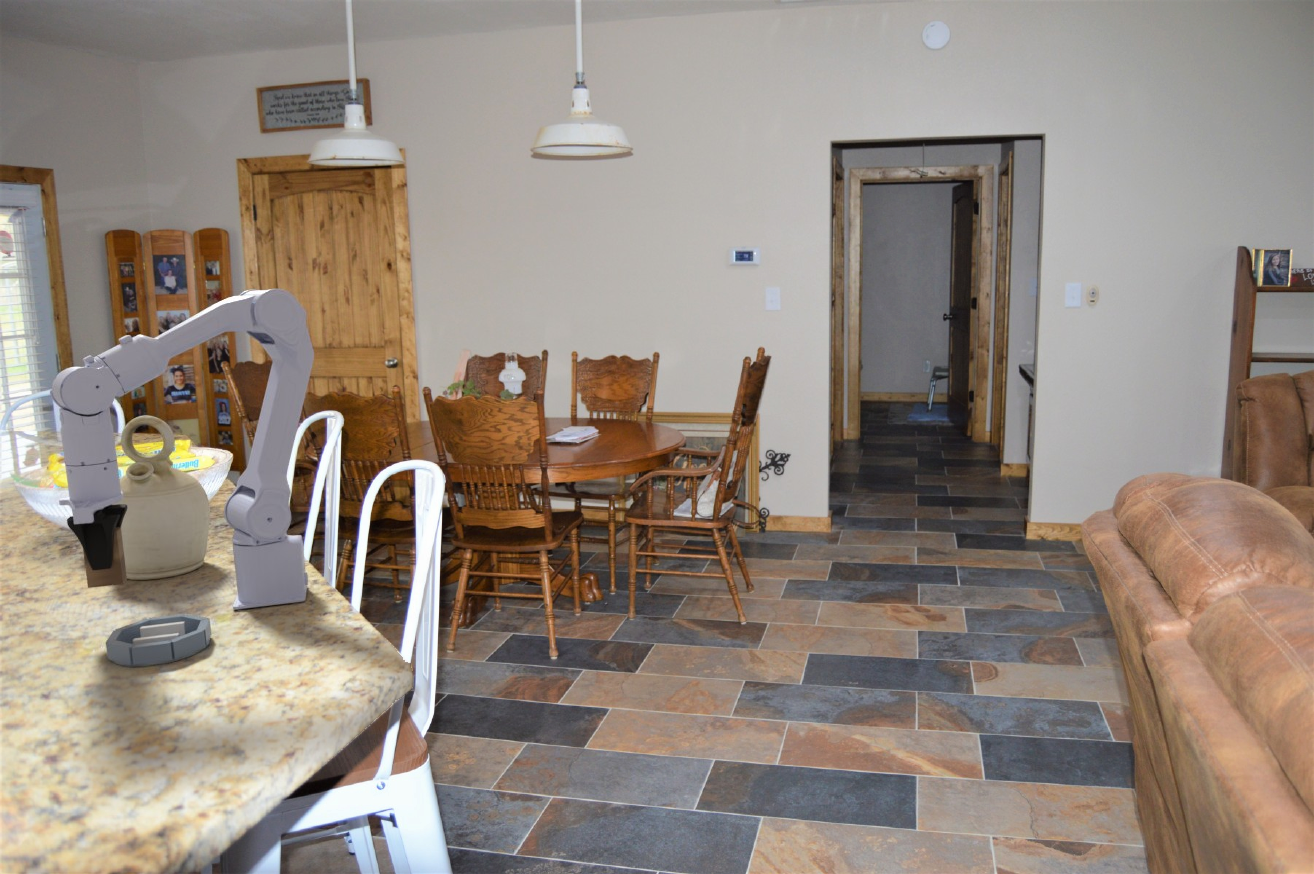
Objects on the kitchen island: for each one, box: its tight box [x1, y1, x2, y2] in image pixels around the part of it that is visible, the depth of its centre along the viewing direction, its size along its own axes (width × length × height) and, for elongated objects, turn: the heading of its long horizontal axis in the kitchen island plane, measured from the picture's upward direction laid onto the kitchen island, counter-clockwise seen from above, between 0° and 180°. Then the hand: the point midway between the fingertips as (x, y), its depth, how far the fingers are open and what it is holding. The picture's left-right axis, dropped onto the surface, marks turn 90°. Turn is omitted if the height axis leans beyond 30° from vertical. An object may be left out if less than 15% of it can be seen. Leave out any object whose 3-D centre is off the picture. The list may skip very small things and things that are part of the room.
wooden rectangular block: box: [82, 527, 128, 589], centre depth 125 cm, size 4×2×7 cm, turn 108°
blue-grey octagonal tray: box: [105, 613, 212, 668], centre depth 121 cm, size 11×11×2 cm
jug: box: [112, 415, 211, 581], centre depth 154 cm, size 15×16×25 cm
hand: (104, 565), depth 125 cm, fingers closed on wooden rectangular block, 2 cm apart
